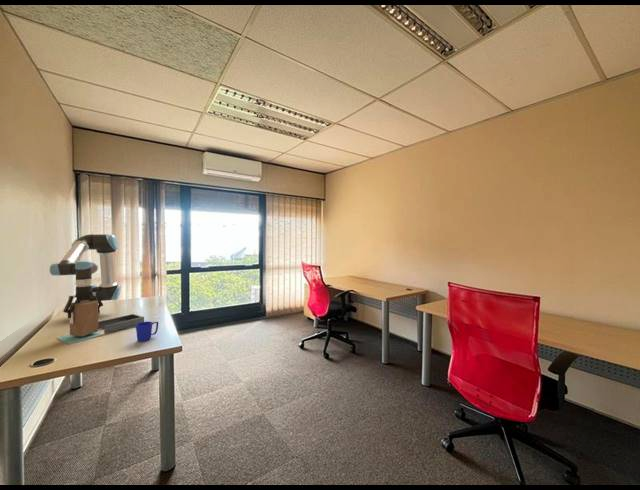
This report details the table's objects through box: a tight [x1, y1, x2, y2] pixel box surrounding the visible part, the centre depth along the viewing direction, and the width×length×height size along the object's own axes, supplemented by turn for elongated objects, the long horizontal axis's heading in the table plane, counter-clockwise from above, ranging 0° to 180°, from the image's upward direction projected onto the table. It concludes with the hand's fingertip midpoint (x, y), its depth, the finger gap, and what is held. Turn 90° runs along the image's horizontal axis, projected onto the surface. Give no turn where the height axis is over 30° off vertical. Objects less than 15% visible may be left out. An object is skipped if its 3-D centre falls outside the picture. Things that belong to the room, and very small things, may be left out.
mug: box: [135, 321, 159, 343], centre depth 158 cm, size 8×12×10 cm
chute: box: [98, 313, 145, 335], centre depth 180 cm, size 15×23×5 cm, turn 151°
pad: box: [56, 332, 103, 345], centre depth 161 cm, size 18×16×1 cm
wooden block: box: [69, 300, 99, 336], centre depth 162 cm, size 10×10×20 cm
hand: (84, 320), depth 162 cm, fingers closed on wooden block, 11 cm apart
